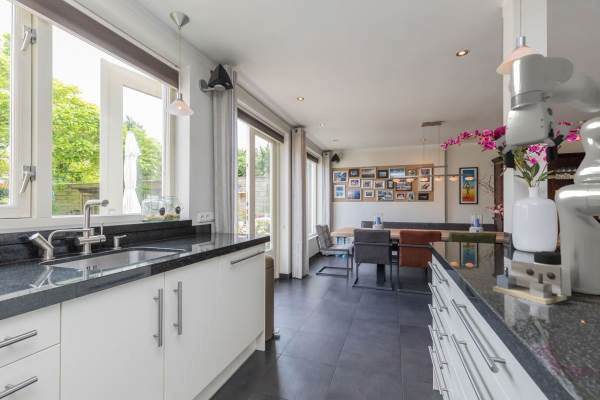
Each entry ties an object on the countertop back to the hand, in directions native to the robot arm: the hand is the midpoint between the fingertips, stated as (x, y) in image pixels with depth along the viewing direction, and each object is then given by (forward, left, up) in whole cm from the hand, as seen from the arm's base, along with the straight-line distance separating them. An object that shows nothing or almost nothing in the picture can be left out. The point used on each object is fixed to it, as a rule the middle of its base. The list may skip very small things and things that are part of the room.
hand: (529, 165), depth 76 cm
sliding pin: (-1, -7, -35) cm, 36 cm away
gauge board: (-3, -3, -36) cm, 36 cm away
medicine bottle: (-12, -2, -37) cm, 39 cm away
